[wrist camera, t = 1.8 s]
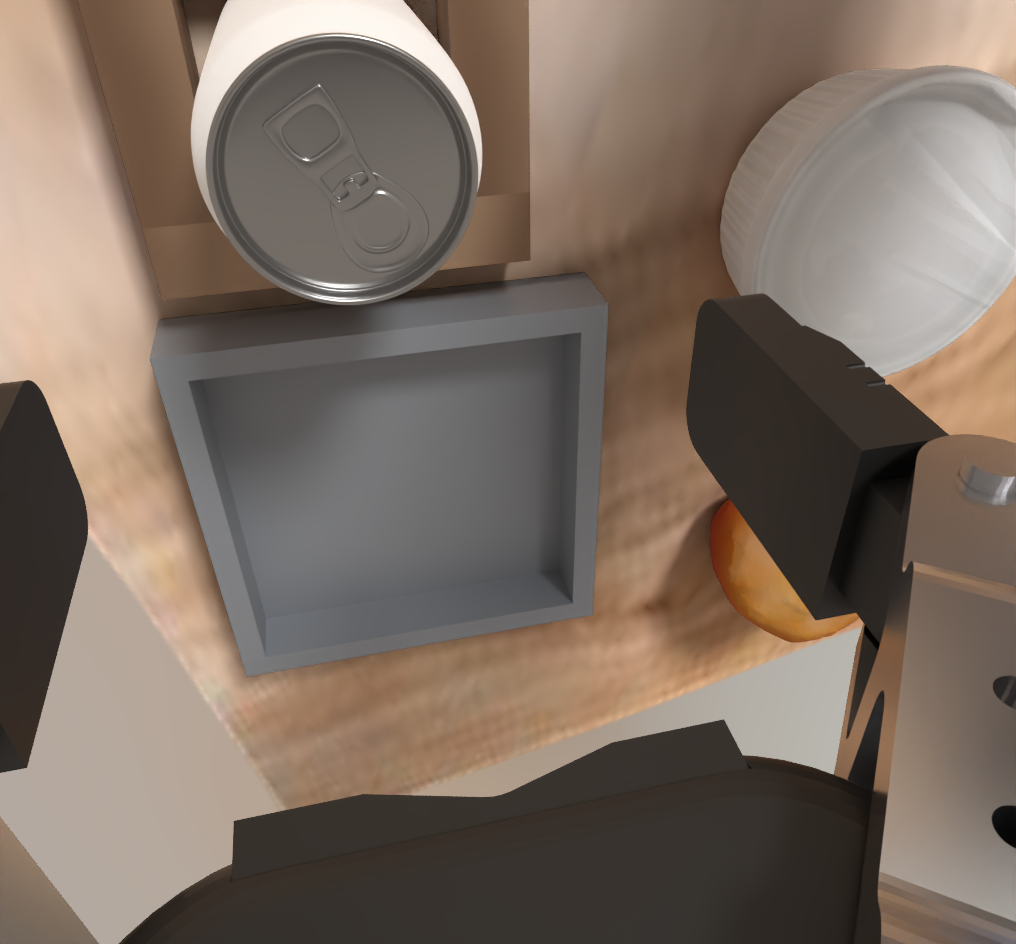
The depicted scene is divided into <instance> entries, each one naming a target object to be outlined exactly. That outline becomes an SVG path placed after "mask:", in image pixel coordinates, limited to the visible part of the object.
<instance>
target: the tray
mask: <svg viewBox="0 0 1016 944" xmlns="http://www.w3.org/2000/svg"><path fill="white" fill-rule="evenodd" d="M608 309H609V304H608V303H607V301H606V300H605V299H604V297H603V296H602V295H601V293H600V292H599V290H598V289H597V288H596V286H595V285H594V284H593V282H592V281H591V279H590V278H589V277H588V275H587V274H586V273H585V272H581V273H572V274H564V275H555V276H546V277H537V278H528V279H519V280H510V281H501V282H492V283H483V284H474V285H466V286H457V287H448V288H439V289H430V290H421V291H412V292H405V293H403V294H401V295H398V296H396V297H393V298H390V299H387V300H384V301H380V302H375V303H370V304H362V305H334V304H326V303H321V302H314V303H305V304H296V305H287V306H278V307H269V308H261V309H252V310H243V311H234V312H225V313H216V314H207V315H198V316H189V317H180V318H171V319H163V320H159V323H158V327H157V331H156V335H155V339H154V343H153V348H152V352H151V356H150V362H151V365H152V368H153V371H154V375H155V378H156V381H157V384H158V388H159V391H160V394H161V398H162V401H163V404H164V407H165V411H166V414H167V417H168V420H169V424H170V427H171V430H172V433H173V437H174V440H175V443H176V447H177V450H178V453H179V456H180V460H181V463H182V466H183V469H184V473H185V476H186V479H187V483H188V486H189V489H190V492H191V496H192V499H193V502H194V505H195V509H196V512H197V515H198V519H199V522H200V525H201V528H202V532H203V535H204V538H205V541H206V545H207V548H208V551H209V554H210V558H211V561H212V564H213V568H214V571H215V574H216V577H217V581H218V584H219V587H220V590H221V594H222V597H223V600H224V604H225V607H226V610H227V613H228V617H229V620H230V623H231V626H232V630H233V633H234V636H235V640H236V643H237V646H238V649H239V653H240V656H241V659H242V662H243V666H244V669H245V672H246V675H247V677H249V676H255V675H260V674H266V673H271V672H277V671H283V670H288V669H294V668H299V667H305V666H310V665H316V664H322V663H327V662H333V661H338V660H344V659H349V658H355V657H361V656H366V655H372V654H377V653H383V652H389V651H394V650H400V649H405V648H411V647H416V646H422V645H428V644H433V643H439V642H444V641H450V640H455V639H461V638H467V637H472V636H478V635H483V634H489V633H494V632H500V631H506V630H511V629H517V628H522V627H528V626H533V625H539V624H545V623H550V622H556V621H561V620H567V619H572V618H578V617H584V616H589V615H593V599H594V580H595V560H596V541H597V521H598V502H599V483H600V463H601V444H602V425H603V405H604V386H605V367H606V347H607V328H608Z"/></svg>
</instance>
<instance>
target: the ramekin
mask: <svg viewBox="0 0 1016 944" xmlns="http://www.w3.org/2000/svg"><path fill="white" fill-rule="evenodd" d="M720 232H721V236H720V242H721V246H722V256H723V259H724V261H725V263H726V269H727V271H728V273H729V275H730V277H731V279H732V281H733V284H734V285H735V287H736V289H737V291H738V292H739V294H740V296H743V295H751V294H760V293H763V294H766V295H768V296H769V297H770V298H771V299H773V300H774V301H775V302H776V303H777V304H778V305H779V306H780V307H781V308H783V309H784V310H785V311H786V312H787V313H788V314H789V315H790V316H791V317H793V318H794V319H795V320H796V321H797V322H798V323H799V324H800V325H801V326H804V325H806V326H808V327H810V328H812V329H814V330H816V331H819V332H821V333H823V334H825V335H827V336H830V337H832V338H834V339H836V340H838V341H841V342H842V343H843V344H844V345H845V346H847V347H848V348H849V349H850V350H851V351H852V352H853V353H855V354H856V355H857V356H858V357H859V358H860V359H862V360H863V361H864V362H865V367H871V368H872V369H873V370H874V371H875V372H877V373H878V374H879V375H880V376H881V377H885V376H888V375H891V374H895V373H897V372H900V371H903V370H905V369H907V368H910V367H912V366H914V365H916V364H918V363H920V362H922V361H924V360H925V359H927V358H929V357H931V356H932V355H934V354H936V353H938V352H939V351H941V350H942V349H944V348H945V347H947V346H948V345H949V344H951V343H952V342H954V341H955V340H956V339H958V338H959V337H960V336H961V335H962V334H963V333H965V332H966V331H967V330H968V329H969V328H970V327H972V326H973V325H974V324H975V323H976V322H977V321H978V320H979V319H980V318H981V317H982V316H983V315H984V314H985V313H986V312H987V311H988V310H989V308H990V307H991V306H992V305H993V304H994V303H995V302H996V300H997V299H998V298H999V297H1000V296H1001V294H1002V293H1003V292H1004V291H1005V289H1006V288H1007V287H1008V286H1009V284H1010V283H1011V282H1012V280H1013V279H1014V277H1015V276H1016V88H1015V87H1014V86H1012V85H1011V84H1009V83H1008V82H1006V81H1004V80H1003V79H1001V78H999V77H997V76H995V75H992V74H990V73H986V72H983V71H980V70H976V69H972V68H967V67H959V66H948V65H943V66H928V67H921V68H916V69H911V70H910V69H868V70H856V71H852V72H848V73H841V74H837V75H835V76H833V77H831V78H829V79H825V80H822V81H819V82H817V83H816V84H815V85H813V86H812V87H810V88H807V89H805V90H803V91H802V92H801V93H800V94H798V95H797V96H796V97H795V98H793V99H792V100H790V101H789V102H787V103H786V104H785V105H784V106H783V107H782V108H781V109H780V110H778V111H777V112H776V113H775V114H774V115H773V116H772V117H771V118H770V120H769V121H768V122H767V123H766V124H765V125H764V126H763V127H762V128H761V129H760V131H759V132H758V134H757V135H756V137H755V138H754V139H753V140H752V141H751V143H750V144H749V145H748V147H747V149H746V151H745V152H744V154H743V155H742V157H741V158H740V160H739V162H738V165H737V167H736V169H735V171H734V172H733V174H732V176H731V179H730V183H729V187H728V189H727V191H726V194H725V200H724V204H723V208H722V219H721V224H720Z"/></svg>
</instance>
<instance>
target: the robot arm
mask: <svg viewBox="0 0 1016 944" xmlns="http://www.w3.org/2000/svg"><path fill="white" fill-rule="evenodd" d="M686 415H687V425H688V431H689V435H690V438H691V441H692V444H693V446H694V448H695V450H696V452H697V453H698V455H699V456H700V457H701V459H702V460H703V462H704V463H705V465H706V466H707V467H708V469H709V470H710V472H711V473H712V474H713V476H714V477H715V479H716V480H717V482H718V483H719V484H720V486H721V487H722V489H723V490H724V491H725V493H726V494H727V496H728V497H729V499H730V500H731V501H732V503H733V504H734V506H735V507H736V508H737V510H738V511H739V513H740V514H741V516H742V517H743V518H744V520H745V521H746V523H747V524H748V525H749V527H750V528H751V530H752V531H753V533H754V534H755V535H756V537H757V538H758V540H759V541H760V542H761V544H762V545H763V547H764V548H765V550H766V551H767V552H768V554H769V555H770V557H771V558H772V559H773V561H774V562H775V564H776V565H777V567H778V568H779V569H780V571H781V572H782V574H783V575H784V576H785V578H786V579H787V581H788V582H789V584H790V585H791V586H792V588H793V589H794V591H795V592H796V593H797V595H798V596H799V598H800V599H801V601H802V602H803V603H804V605H805V606H806V608H807V609H808V610H809V612H810V613H811V615H812V616H813V618H814V619H815V620H822V619H827V618H832V617H837V616H843V615H848V614H853V613H857V615H858V616H859V617H860V619H861V620H862V621H863V623H864V624H863V627H862V630H861V633H860V636H859V639H858V643H857V646H856V652H855V657H854V663H853V669H852V675H851V681H850V686H849V692H848V698H847V703H846V709H845V715H844V721H843V727H842V732H841V738H840V744H839V750H838V755H837V761H836V766H835V770H834V775H833V774H830V773H827V772H824V771H821V770H819V769H816V768H813V767H809V766H805V765H801V764H797V763H793V762H788V761H785V760H779V759H772V758H765V757H758V756H743V755H742V753H741V751H740V750H739V748H738V746H737V744H736V742H735V740H734V738H733V736H732V734H731V732H730V730H729V729H728V727H727V725H726V723H725V721H724V720H719V721H715V722H710V723H705V724H700V725H695V726H690V727H686V728H681V729H676V730H671V731H666V732H661V733H657V734H652V735H647V736H642V737H637V738H632V739H628V740H623V741H618V742H613V743H610V744H608V745H606V746H604V747H602V748H600V749H598V750H596V751H594V752H592V753H590V754H588V755H586V756H583V757H581V758H580V759H577V760H575V761H573V762H571V763H569V764H567V765H565V766H563V767H561V768H558V769H556V770H554V771H552V772H550V773H548V774H546V775H544V776H542V777H540V778H538V779H536V780H533V781H531V782H529V783H527V784H525V785H523V786H521V787H519V788H517V789H515V790H513V791H511V792H508V793H505V794H503V795H499V796H494V797H453V796H412V795H372V794H362V795H357V796H353V797H348V798H343V799H338V800H333V801H328V802H324V803H319V804H314V805H309V806H304V807H299V808H295V809H290V810H285V811H280V812H275V813H270V814H266V815H261V816H256V817H251V818H247V819H242V820H237V821H234V834H233V860H232V864H231V865H229V866H227V867H225V868H222V869H220V870H218V871H216V872H214V873H212V874H210V875H209V876H207V877H205V878H204V879H202V880H200V881H199V882H197V883H195V884H194V885H192V886H190V887H189V888H187V889H185V890H184V891H182V892H181V893H179V894H178V895H176V896H175V897H174V898H172V899H171V900H170V901H168V902H167V903H166V904H164V905H163V906H162V907H161V908H159V909H157V910H156V911H155V912H153V913H152V914H151V915H150V916H149V917H148V918H146V919H145V920H144V921H143V922H142V923H141V924H140V925H139V926H137V927H136V928H135V929H134V930H133V931H132V932H131V933H130V934H128V935H127V936H126V937H125V938H124V939H123V940H122V941H121V942H120V943H119V944H1016V443H1012V442H1009V441H1006V440H1002V439H998V438H994V437H988V436H982V435H970V434H961V435H948V434H947V433H946V432H945V431H944V430H942V429H941V428H940V427H939V426H938V425H937V424H936V423H934V422H933V421H932V420H931V419H930V418H929V417H927V416H926V415H925V414H924V413H923V412H922V411H921V410H919V409H918V408H917V407H916V406H915V405H914V404H912V403H911V402H910V401H909V400H908V399H907V398H906V397H904V396H903V395H902V394H901V393H900V392H899V391H897V390H896V389H895V388H894V387H893V386H892V385H890V384H889V385H886V384H885V379H884V378H882V377H881V376H880V375H879V374H878V373H877V372H875V371H874V370H873V369H872V368H871V367H865V362H864V361H863V360H862V359H860V358H859V357H858V356H857V355H856V354H855V353H853V352H852V351H851V350H850V349H849V348H848V347H847V346H845V345H844V344H843V343H842V342H841V341H838V340H836V339H834V338H832V337H830V336H827V335H825V334H823V333H821V332H819V331H816V330H814V329H812V328H810V327H808V326H806V325H804V326H801V325H800V324H799V323H798V322H797V321H796V320H795V319H794V318H793V317H791V316H790V315H789V314H788V313H787V312H786V311H785V310H784V309H783V308H781V307H780V306H779V305H778V304H777V303H776V302H775V301H774V300H773V299H771V298H770V297H769V296H768V295H766V294H763V293H760V294H751V295H743V296H735V297H726V298H718V299H710V300H707V301H705V302H704V303H703V304H702V306H701V308H700V310H699V313H698V317H697V322H696V331H695V339H694V347H693V356H692V364H691V372H690V381H689V389H688V397H687V407H686ZM87 535H88V519H87V510H86V505H85V500H84V496H83V493H82V490H81V487H80V485H79V482H78V480H77V477H76V474H75V472H74V469H73V467H72V464H71V462H70V459H69V457H68V454H67V452H66V449H65V447H64V444H63V442H62V439H61V437H60V434H59V432H58V429H57V427H56V424H55V422H54V419H53V417H52V414H51V412H50V409H49V407H48V404H47V402H46V399H45V397H44V395H43V393H42V392H41V390H40V389H39V387H38V386H37V385H36V384H35V383H34V382H32V381H30V380H27V381H18V382H10V383H2V384H0V773H1V772H7V771H12V770H18V769H22V768H27V765H28V762H29V758H30V754H31V750H32V746H33V743H34V739H35V735H36V731H37V727H38V723H39V719H40V716H41V712H42V708H43V705H44V701H45V697H46V693H47V690H48V686H49V682H50V678H51V675H52V671H53V667H54V663H55V659H56V656H57V652H58V648H59V644H60V641H61V637H62V633H63V629H64V626H65V622H66V618H67V614H68V610H69V606H70V603H71V599H72V595H73V591H74V588H75V583H76V580H77V576H78V573H79V569H80V565H81V561H82V557H83V554H84V550H85V546H86V541H87ZM0 944H99V943H98V942H97V940H96V939H95V938H94V937H93V935H92V934H91V933H90V931H89V930H88V929H87V928H86V926H85V925H84V924H83V922H82V921H81V920H80V919H79V917H78V916H77V915H76V913H75V912H74V911H73V910H72V908H71V907H70V906H69V904H68V903H67V902H66V901H65V899H64V898H63V897H62V895H61V894H60V893H59V892H58V891H57V889H56V888H55V886H54V885H53V884H52V883H51V881H50V880H49V879H48V877H47V876H46V875H45V874H44V872H43V871H42V870H41V868H40V867H39V866H38V865H37V863H36V862H35V861H34V859H33V858H32V857H31V856H30V854H29V853H28V852H27V850H26V849H25V848H24V847H23V845H22V844H21V843H20V841H19V840H18V839H17V837H16V836H15V835H14V834H13V832H12V831H11V830H10V828H9V827H8V826H7V825H6V823H5V822H4V821H3V819H1V817H0Z"/></svg>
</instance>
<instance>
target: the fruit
mask: <svg viewBox="0 0 1016 944" xmlns="http://www.w3.org/2000/svg"><path fill="white" fill-rule="evenodd" d="M710 550H711V558H712V564H713V568H714V571H715V573H716V576H717V578H718V580H719V582H720V584H721V586H722V588H723V590H724V592H725V594H726V596H727V598H728V600H729V601H730V603H731V604H732V605H733V606H734V607H735V609H736V610H737V611H738V612H739V613H740V614H741V615H743V616H744V617H745V618H747V619H748V620H749V621H751V622H752V623H754V624H755V625H757V626H758V627H760V628H762V629H763V630H765V631H767V632H769V633H770V634H773V635H775V636H777V637H779V638H781V639H783V640H786V641H789V642H804V641H810V640H816V639H820V638H822V637H826V636H831V635H833V634H835V633H836V632H838V631H839V630H841V629H843V628H845V627H847V626H848V625H850V624H851V623H853V622H855V621H856V620H857V619H858V618H859V616H858V615H857V613H853V614H848V615H843V616H837V617H832V618H827V619H822V620H815V619H814V618H813V616H812V615H811V613H810V612H809V610H808V609H807V608H806V606H805V605H804V603H803V602H802V601H801V599H800V598H799V596H798V595H797V593H796V592H795V591H794V589H793V588H792V586H791V585H790V584H789V582H788V581H787V579H786V578H785V576H784V575H783V574H782V572H781V571H780V569H779V568H778V567H777V565H776V564H775V562H774V561H773V559H772V558H771V557H770V555H769V554H768V552H767V551H766V550H765V548H764V547H763V545H762V544H761V542H760V541H759V540H758V538H757V537H756V535H755V534H754V533H753V531H752V530H751V528H750V527H749V525H748V524H747V523H746V521H745V520H744V518H743V517H742V516H741V514H740V513H739V511H738V510H737V508H736V507H735V506H734V504H733V503H732V501H731V500H730V499H728V500H727V501H725V502H724V503H723V505H722V506H721V507H720V508H719V509H718V511H717V512H716V513H715V515H714V517H713V519H712V521H711V524H710Z"/></svg>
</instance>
